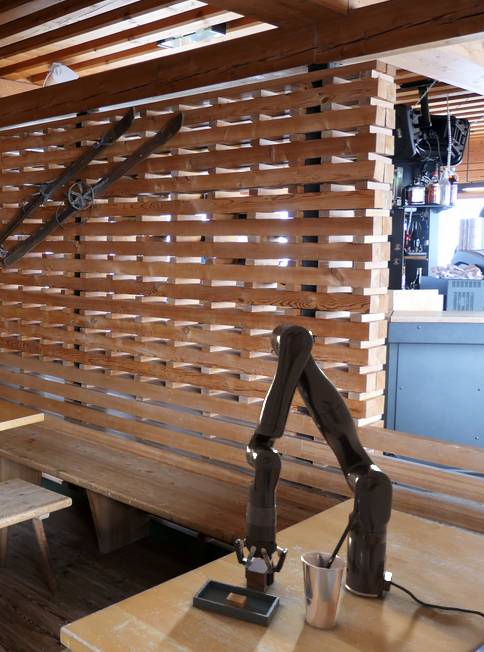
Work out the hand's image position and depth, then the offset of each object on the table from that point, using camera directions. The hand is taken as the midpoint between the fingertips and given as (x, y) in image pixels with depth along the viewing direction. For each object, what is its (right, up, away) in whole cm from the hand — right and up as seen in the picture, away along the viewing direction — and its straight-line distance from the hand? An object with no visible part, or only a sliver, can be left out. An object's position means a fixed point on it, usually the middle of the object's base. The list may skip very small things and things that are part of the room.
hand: (259, 582), depth 196 cm
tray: (-9, -2, -11) cm, 14 cm away
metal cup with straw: (+9, -3, -19) cm, 21 cm away
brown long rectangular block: (0, -1, 0) cm, 1 cm away
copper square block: (-9, -1, -11) cm, 14 cm away
